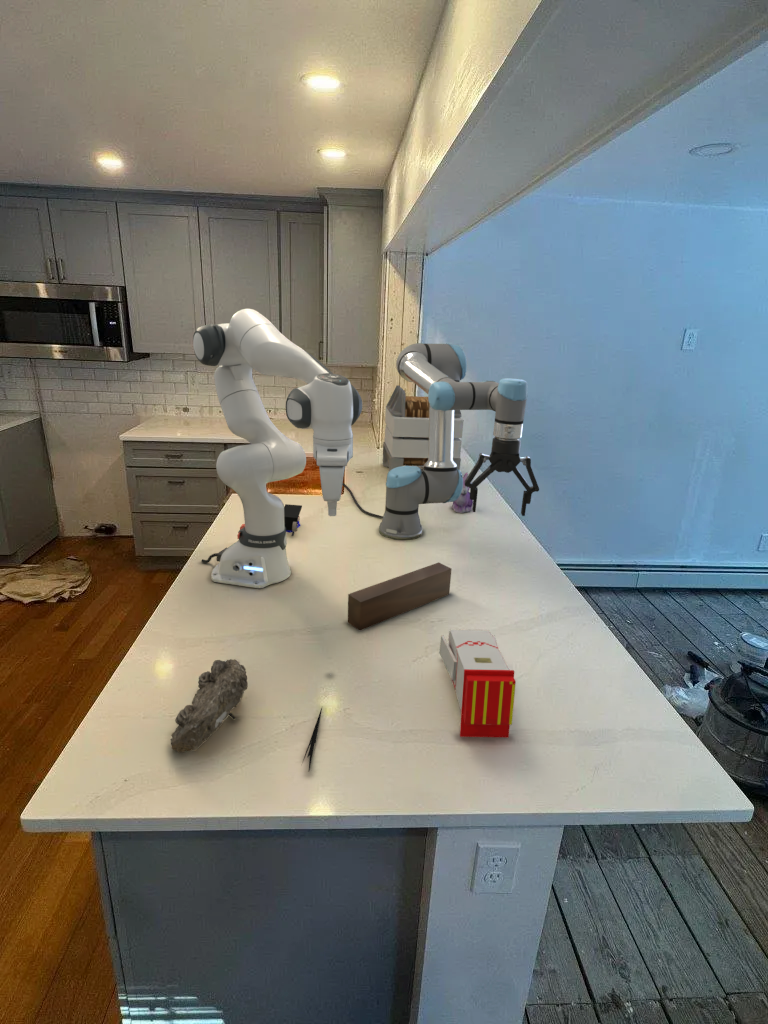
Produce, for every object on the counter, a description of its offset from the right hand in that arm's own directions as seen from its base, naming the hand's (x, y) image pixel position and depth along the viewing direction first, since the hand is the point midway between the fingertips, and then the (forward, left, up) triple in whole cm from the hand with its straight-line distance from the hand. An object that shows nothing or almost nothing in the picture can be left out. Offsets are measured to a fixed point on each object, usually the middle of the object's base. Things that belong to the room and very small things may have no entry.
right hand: (498, 512), depth 159 cm
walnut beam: (-5, -31, -22) cm, 38 cm away
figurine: (-49, +42, -22) cm, 68 cm away
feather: (+18, -73, -22) cm, 78 cm away
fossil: (+5, -88, -22) cm, 91 cm away
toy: (+30, -43, -22) cm, 57 cm away
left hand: (-9, -51, +9) cm, 52 cm away
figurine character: (-68, -26, -22) cm, 76 cm away
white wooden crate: (-97, +64, -22) cm, 118 cm away
